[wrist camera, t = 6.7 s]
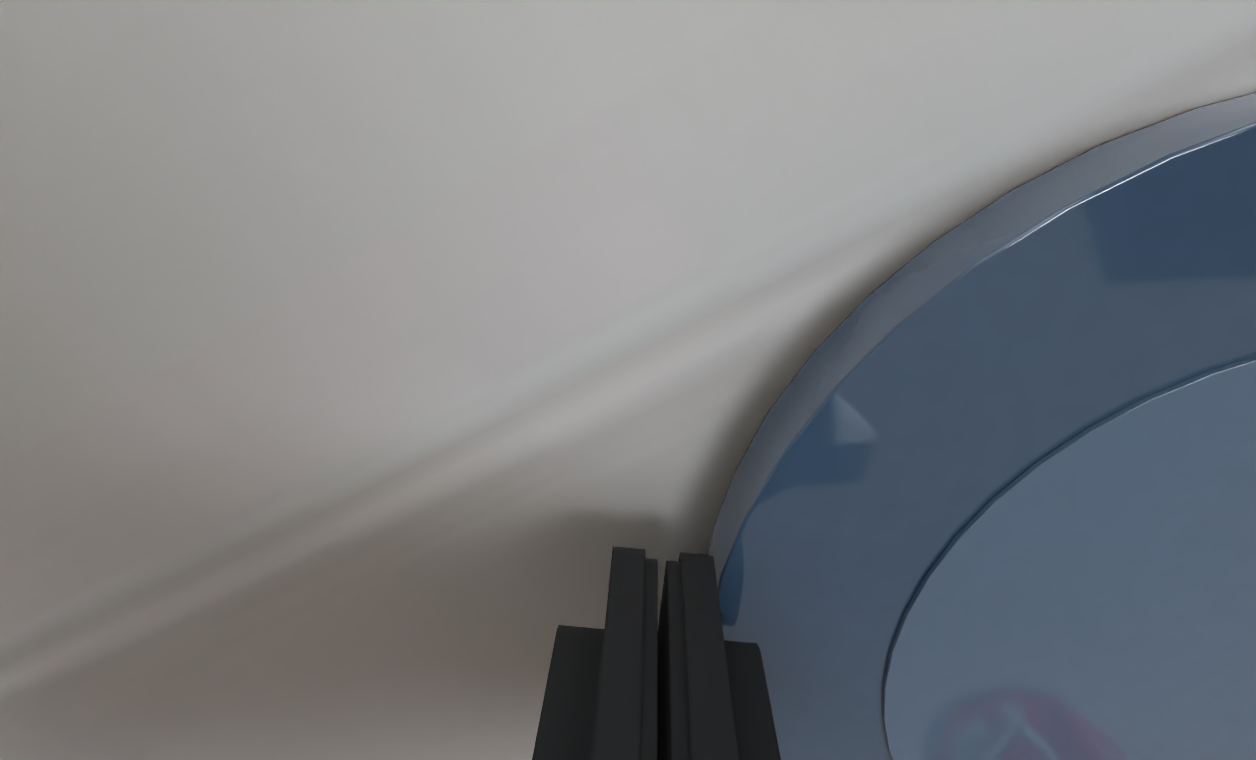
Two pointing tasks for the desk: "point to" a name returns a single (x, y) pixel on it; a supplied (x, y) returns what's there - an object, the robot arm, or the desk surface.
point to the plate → (1025, 479)
